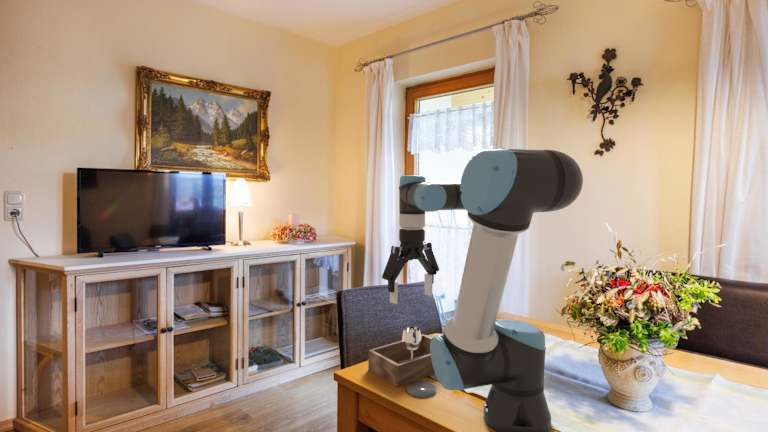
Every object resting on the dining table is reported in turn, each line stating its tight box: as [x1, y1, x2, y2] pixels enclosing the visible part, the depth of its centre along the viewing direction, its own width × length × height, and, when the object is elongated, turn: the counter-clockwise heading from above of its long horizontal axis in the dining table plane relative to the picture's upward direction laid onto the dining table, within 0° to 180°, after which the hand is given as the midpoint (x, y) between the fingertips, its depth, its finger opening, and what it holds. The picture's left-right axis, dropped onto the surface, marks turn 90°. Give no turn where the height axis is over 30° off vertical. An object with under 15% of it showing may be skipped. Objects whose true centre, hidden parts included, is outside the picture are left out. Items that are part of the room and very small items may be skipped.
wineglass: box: [401, 326, 422, 360], centre depth 130 cm, size 6×6×12 cm
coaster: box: [405, 380, 437, 398], centre depth 117 cm, size 8×8×1 cm
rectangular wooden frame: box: [367, 333, 436, 388], centre depth 130 cm, size 14×22×6 cm, turn 127°
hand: (411, 298), depth 129 cm, fingers open, 13 cm apart
